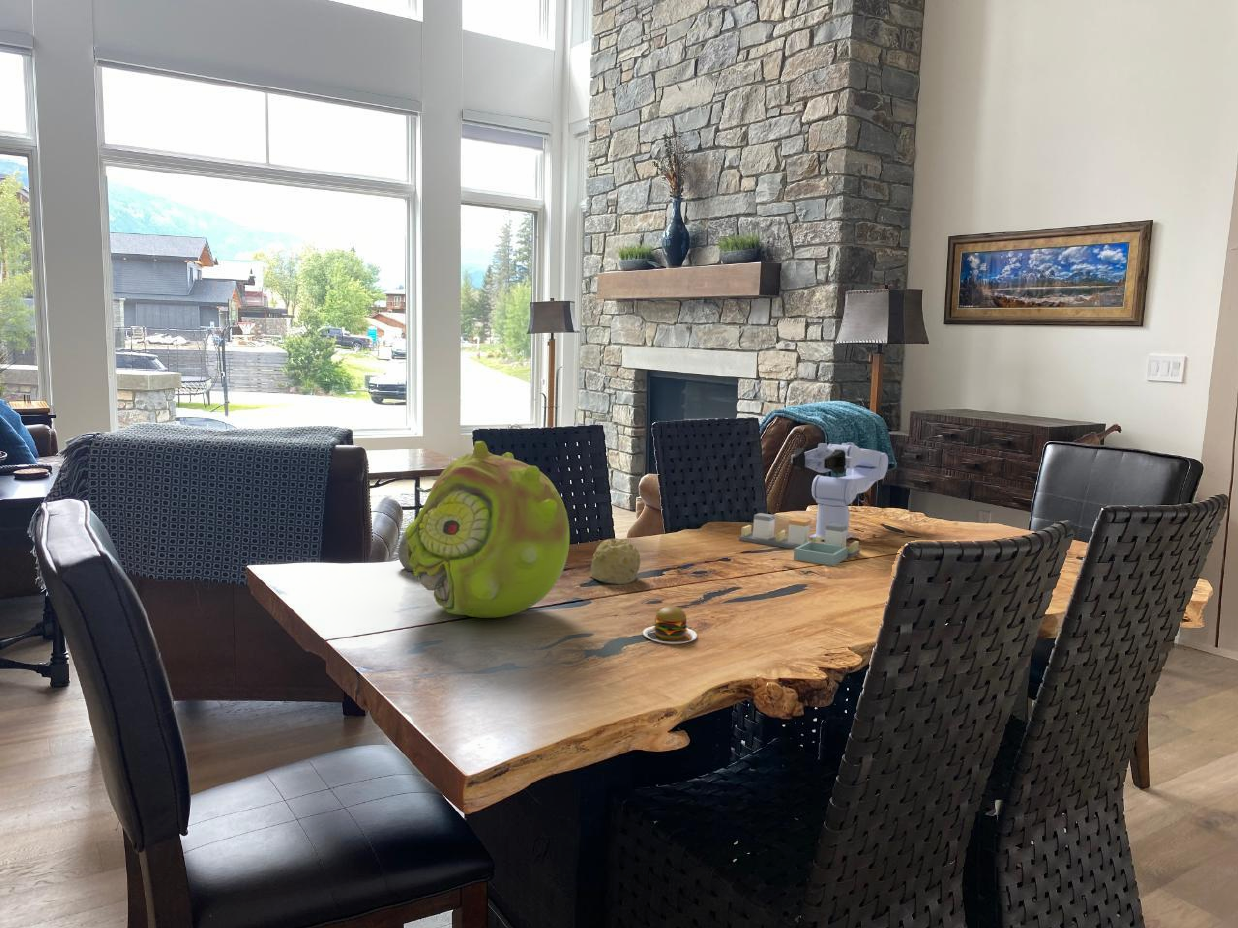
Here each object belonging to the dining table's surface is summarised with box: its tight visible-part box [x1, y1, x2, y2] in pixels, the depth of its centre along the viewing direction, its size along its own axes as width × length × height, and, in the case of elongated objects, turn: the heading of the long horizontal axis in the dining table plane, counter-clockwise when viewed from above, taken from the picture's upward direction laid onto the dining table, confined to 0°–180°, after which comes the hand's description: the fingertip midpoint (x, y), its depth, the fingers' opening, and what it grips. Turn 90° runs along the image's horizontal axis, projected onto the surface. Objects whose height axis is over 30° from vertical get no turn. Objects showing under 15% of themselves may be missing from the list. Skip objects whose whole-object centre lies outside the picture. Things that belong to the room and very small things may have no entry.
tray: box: [793, 540, 849, 567], centre depth 216 cm, size 10×9×2 cm
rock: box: [589, 538, 641, 585], centre depth 191 cm, size 10×11×10 cm
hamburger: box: [642, 605, 698, 645], centre depth 155 cm, size 12×12×6 cm
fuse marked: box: [787, 517, 811, 545], centre depth 227 cm, size 4×4×6 cm
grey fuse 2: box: [824, 523, 847, 547], centre depth 223 cm, size 4×4×6 cm
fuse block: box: [738, 524, 861, 559], centre depth 227 cm, size 6×28×3 cm, turn 59°
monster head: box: [404, 440, 571, 619], centre depth 161 cm, size 31×28×30 cm
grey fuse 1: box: [752, 512, 776, 540], centre depth 232 cm, size 4×4×6 cm
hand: (809, 462), depth 220 cm, fingers open, 7 cm apart
